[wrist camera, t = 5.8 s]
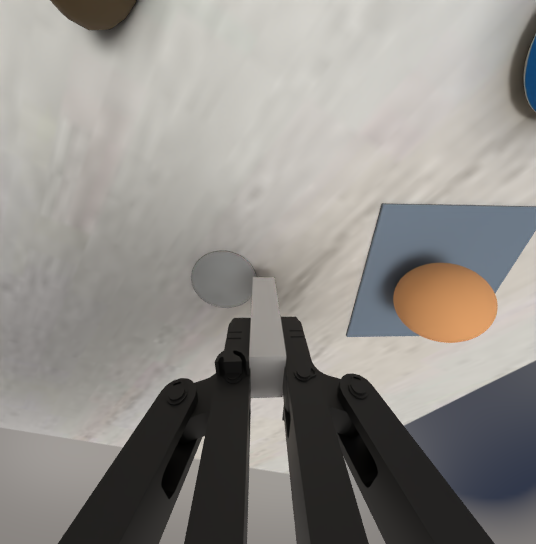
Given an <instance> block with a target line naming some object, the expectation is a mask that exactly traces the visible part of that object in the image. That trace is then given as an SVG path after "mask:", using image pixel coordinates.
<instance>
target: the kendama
mask: <svg viewBox="0 0 536 544" xmlns="http://www.w3.org/2000/svg"><path fill="white" fill-rule="evenodd" d="M50 1H51V2H52V3H53V4H54V5H55V6H56V7H57V8H58V10H59V11H60V12H61V13H62V14H63V15H64V16H66V17H67V18H68V19H69V20H71V21H73V22H75V23H77V24H78V25H80V26H82V27H84V28H86V29H88V30H108V29H112V28H113V27H114V26H116V25H117V24H118V23H120V22H121V21H122V20H124V19H125V18H126V17H127V15H128V14H129V12H130V11H131V9H132V8H133V6H134V5H135V3H136V1H137V0H50Z"/></svg>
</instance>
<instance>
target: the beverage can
mask: <svg viewBox="0 0 536 544" xmlns="http://www.w3.org/2000/svg"><path fill="white" fill-rule="evenodd" d="M523 82H524V89H525V95H526V98H527V101H528V103H529V105H530V107H531V108H532V109H533V110H534V111H535V112H536V34H535V37H534V39H533V41H532V43H531V46H530V48H529V51H528V54H527V57H526V61H525V65H524V73H523Z"/></svg>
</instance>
